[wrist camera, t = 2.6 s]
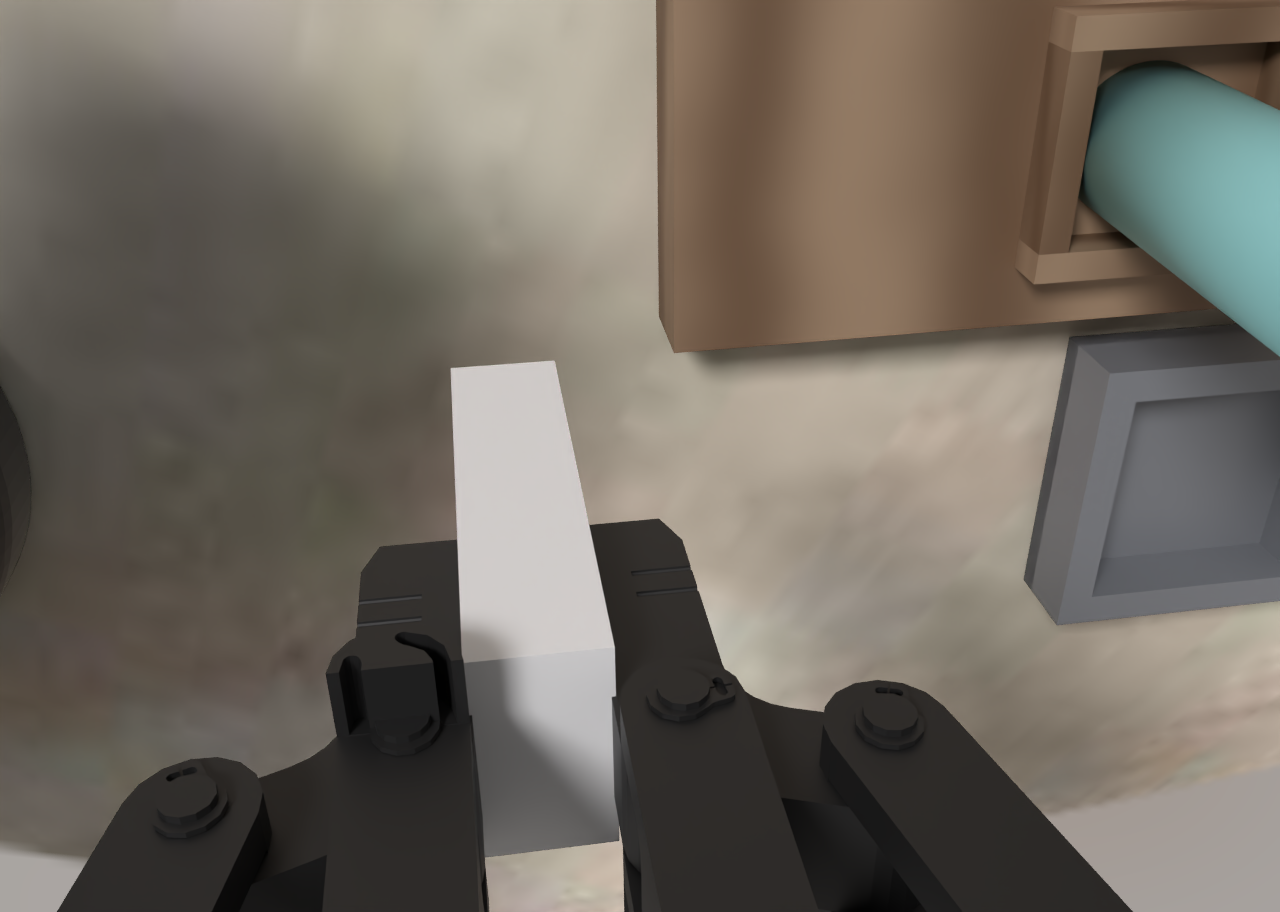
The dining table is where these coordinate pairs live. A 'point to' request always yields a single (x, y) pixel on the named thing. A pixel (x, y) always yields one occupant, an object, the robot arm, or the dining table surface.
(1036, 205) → the brown flat block
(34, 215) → the dining table surface
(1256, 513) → the tray
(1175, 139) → the dowel
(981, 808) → the robot arm
